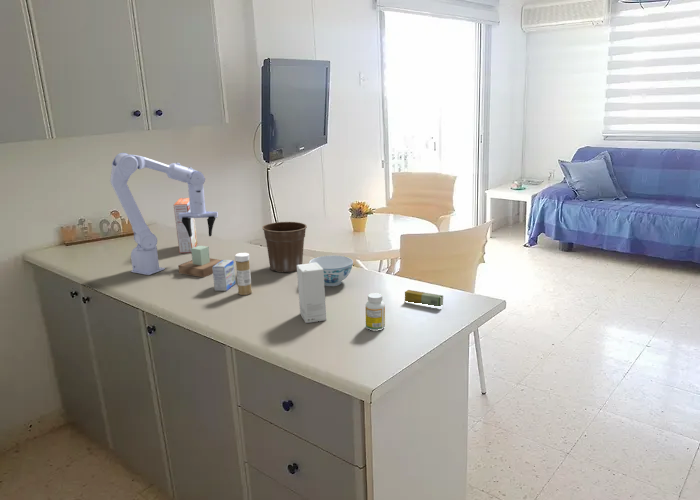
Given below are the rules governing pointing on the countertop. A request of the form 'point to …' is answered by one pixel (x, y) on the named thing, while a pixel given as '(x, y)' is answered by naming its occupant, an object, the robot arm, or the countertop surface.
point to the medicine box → (224, 275)
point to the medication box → (423, 298)
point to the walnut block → (198, 268)
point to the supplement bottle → (375, 312)
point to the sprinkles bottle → (243, 273)
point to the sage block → (200, 255)
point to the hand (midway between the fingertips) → (200, 236)
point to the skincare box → (311, 292)
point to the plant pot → (285, 245)
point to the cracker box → (182, 234)
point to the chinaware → (334, 268)
